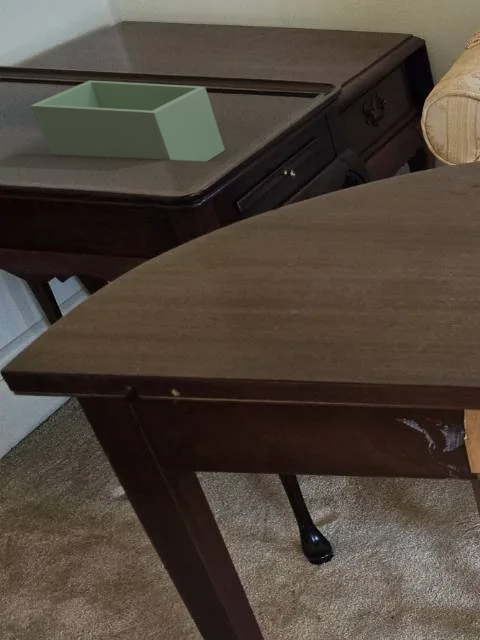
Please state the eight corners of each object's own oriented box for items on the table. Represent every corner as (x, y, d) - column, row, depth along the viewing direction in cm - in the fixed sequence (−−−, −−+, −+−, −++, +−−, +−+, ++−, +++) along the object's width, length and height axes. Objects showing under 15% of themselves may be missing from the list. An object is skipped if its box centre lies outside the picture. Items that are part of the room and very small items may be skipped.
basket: (58, 172, 131) (29, 105, 126) (113, 143, 141) (89, 80, 135) (177, 179, 130) (153, 112, 124) (225, 150, 139) (205, 86, 134)
